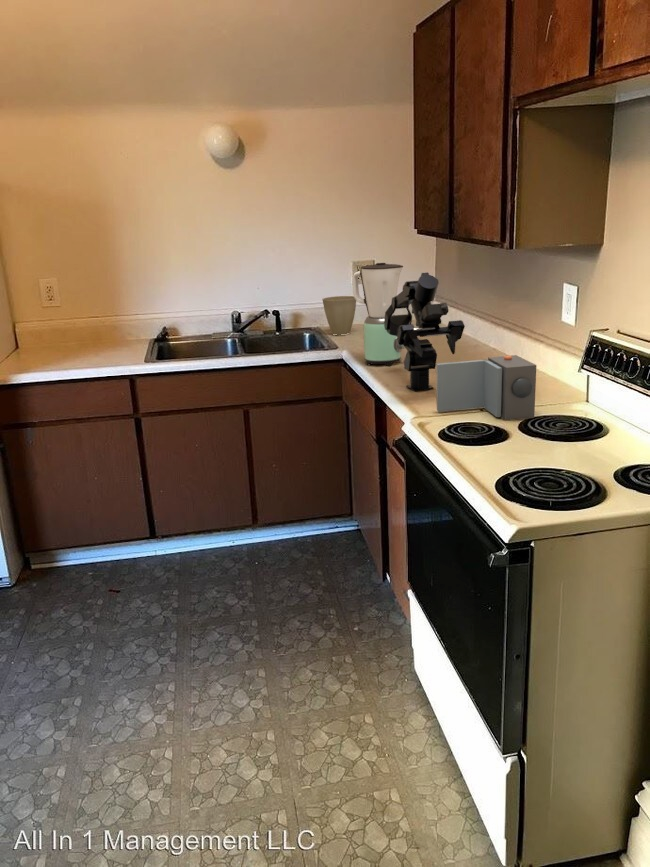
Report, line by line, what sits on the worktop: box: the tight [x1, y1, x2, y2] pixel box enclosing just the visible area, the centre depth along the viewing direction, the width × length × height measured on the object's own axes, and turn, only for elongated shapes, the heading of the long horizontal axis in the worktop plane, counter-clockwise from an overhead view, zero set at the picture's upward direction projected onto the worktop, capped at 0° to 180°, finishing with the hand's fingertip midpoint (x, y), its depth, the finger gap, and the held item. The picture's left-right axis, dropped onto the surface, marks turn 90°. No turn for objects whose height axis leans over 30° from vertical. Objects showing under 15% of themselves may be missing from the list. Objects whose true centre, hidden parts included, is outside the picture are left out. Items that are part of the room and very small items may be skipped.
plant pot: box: [322, 295, 357, 335], centre depth 313 cm, size 15×15×16 cm
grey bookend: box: [436, 358, 502, 418], centre depth 189 cm, size 12×14×13 cm
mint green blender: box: [352, 262, 406, 367], centre depth 252 cm, size 19×13×35 cm
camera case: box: [487, 354, 537, 422], centre depth 189 cm, size 14×8×15 cm, turn 8°
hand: (438, 354), depth 200 cm, fingers open, 9 cm apart
